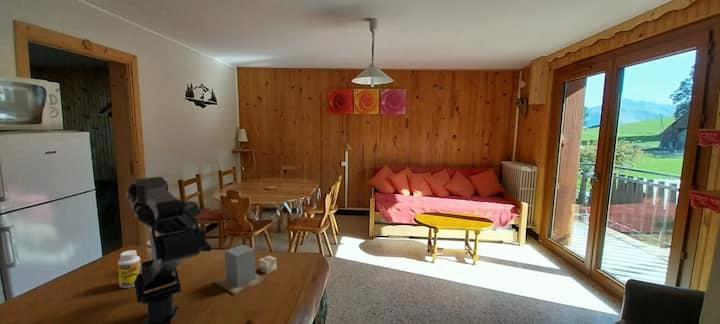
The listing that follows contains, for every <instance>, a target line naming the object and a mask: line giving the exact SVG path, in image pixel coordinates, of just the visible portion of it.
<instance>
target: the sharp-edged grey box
mask: <svg viewBox="0 0 720 324" xmlns="http://www.w3.org/2000/svg"><path fill="white" fill-rule="evenodd" d="M224 261H225V262H224V264H225V277H226V281H227V282H229V283H231V284H232V285H234V286H236V287H240V286H242V285H244V284H246V283H248V282H250V281H253V280H255V279H256V274H257V272H256V249H254V248H252V247H250V246H247V245H245V244H240V245H238V246H235V247H231V248H229V249H225V250H224Z"/></svg>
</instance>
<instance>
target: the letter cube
mask: <svg viewBox="0 0 720 324" xmlns="http://www.w3.org/2000/svg"><path fill="white" fill-rule="evenodd" d="M277 268H278V267H277V258H276V257H273V256H272V255H267V256H264V257H262V258H259V271H261V272H263V273H265V274H270V273H272V272H273V271H276V270H277Z"/></svg>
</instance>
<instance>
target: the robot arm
mask: <svg viewBox="0 0 720 324" xmlns="http://www.w3.org/2000/svg"><path fill="white" fill-rule="evenodd" d="M128 186H129V187H128V188H127V190H126V194H125V198H126V200H127V201H129V206H130V208H131V209H132V211H133V215H134V216H133V217H134V219H135V220H136V221H138V222H140V223H141V224H143V225H145V226H146V227H148V228H150V229H151V231H150V233H149V240H150V244H151V249H152V254H153V258H154V260H150V261H148V260H147V261H142V262H141V263H140V264H141V266H140V270H139V274H137V275H136V279H135V281H134V286H133V287H134V291H135V296H136V303H137V304H141V305H145V304H146V309H147V312H146V313H147V316H146V318H145V319H144V320H143V322H142V323H141V324H171V322H173V319H174V318H175V317H176V315H177V313H178V311H179V310H180V306H175V305H174V304H175V303H174V301H175V300H174V294H179V293H181V292H182V288H181V287H182V285H181V282H180V278H179V273H178V270H177V267H179V266H180V264H181V263H182V261H184V260H188V259H191V258H194V257H196V256H199V254H200V252H212V251H211V250H212V249H213V247H212V246H211V245H210V244H209V242H207V240H206V238H205V236H206V235H207V231H206V230H205V229H204V228H202V227H201V226H199V223H198V221H197V220H196V219H195V217H196V216H198V215H201V213H202V212H203V211H202V209H201V208H200V206H199V205H198V202H196V201H193V200H190V201H189V200H187V201H186V202H185V201H183V200H182V199H178V198H176V197H175V196H174V195H173V194H172V193H171V192H170V191H169V185H168V182H167V180H166V179H165V178H164V177H162V176H153V177H142V178H141V177H140V178H134V179H133V180H132V183H130V184H129V185H128ZM156 234H157V235H156ZM158 234H159V236H158ZM149 240H148V241H149Z"/></svg>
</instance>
